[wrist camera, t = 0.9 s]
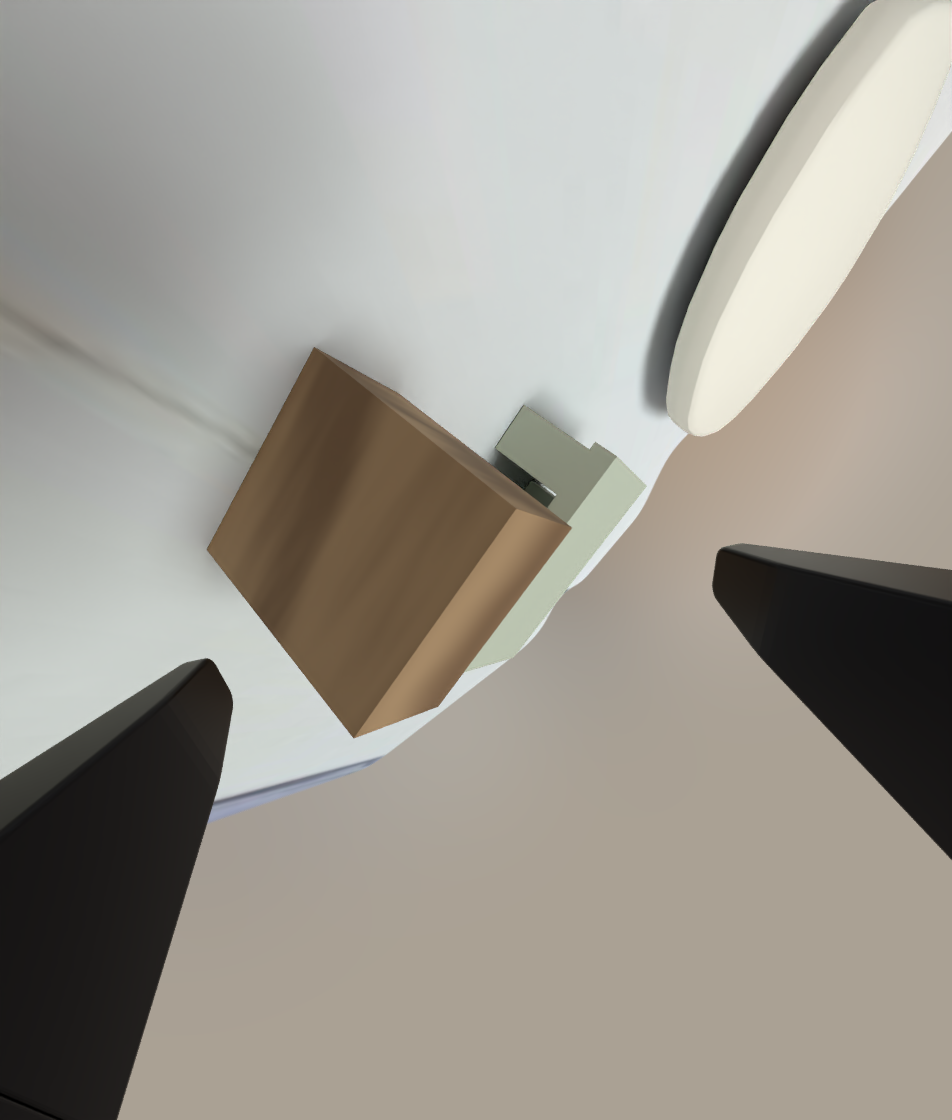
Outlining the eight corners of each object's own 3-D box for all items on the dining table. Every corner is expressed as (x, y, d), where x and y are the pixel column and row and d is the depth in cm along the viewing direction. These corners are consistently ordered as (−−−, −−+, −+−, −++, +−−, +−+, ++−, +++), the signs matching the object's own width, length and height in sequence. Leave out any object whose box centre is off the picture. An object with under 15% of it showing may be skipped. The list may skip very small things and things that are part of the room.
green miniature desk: (388, 606, 34) (453, 675, 31) (528, 397, 30) (616, 456, 27) (457, 603, 42) (513, 657, 39) (575, 437, 38) (646, 485, 35)
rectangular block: (206, 549, 20) (353, 738, 16) (314, 347, 18) (516, 508, 14) (402, 563, 32) (517, 676, 28) (483, 440, 29) (621, 544, 25)
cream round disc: (1011, -160, 20) (971, 102, 40) (841, -143, 23) (881, 93, 43) (679, 472, 35) (768, 439, 54) (601, 433, 38) (711, 414, 57)
